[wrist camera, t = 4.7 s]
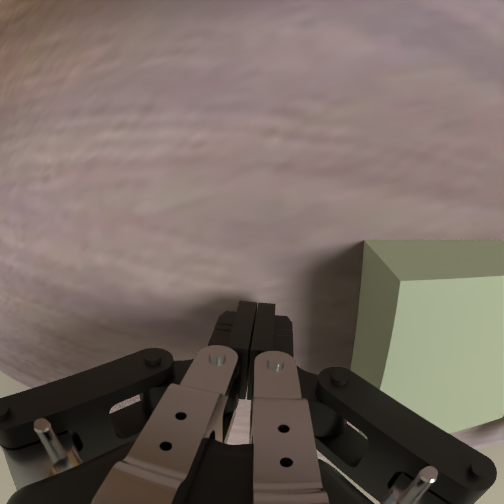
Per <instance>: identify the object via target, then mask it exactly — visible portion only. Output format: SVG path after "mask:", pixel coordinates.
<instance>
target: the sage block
mask: <svg viewBox="0 0 504 504" xmlns="http://www.w3.org/2000/svg"><path fill="white" fill-rule="evenodd" d="M350 370H351V371H352V372H354V373H356V374H357V375H359V376H360V377H361V378H363V379H364V380H366V381H367V382H369V383H370V384H372V385H373V386H375V387H376V388H378V389H380V390H381V391H383V392H384V393H386V394H387V395H389V396H390V397H392V398H393V399H395V400H396V401H398V402H399V403H401V404H402V405H404V406H406V407H407V408H409V409H410V410H412V411H413V412H415V413H416V414H418V415H420V416H421V417H423V418H424V419H426V420H428V421H429V422H431V423H432V424H434V425H436V426H437V427H439V428H440V429H442V430H444V431H445V432H447V433H448V434H449V433H453V432H457V431H460V430H464V429H468V428H471V427H474V426H478V425H481V424H484V423H487V422H491V421H494V420H497V419H499V418H502V417H503V415H504V242H503V241H501V240H364V248H363V264H362V277H361V288H360V298H359V308H358V317H357V325H356V333H355V341H354V348H353V355H352V362H351V368H350ZM359 433H360V434H361V435H362V436H364V437H365V438H366V439H367V437H366V436H365V434H364V433H362V432H361V431H360V430H359Z"/></svg>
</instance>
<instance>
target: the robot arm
mask: <svg viewBox="0 0 504 504" xmlns="http://www.w3.org/2000/svg"><path fill="white" fill-rule="evenodd" d="M247 385H248V392H247V400H251V411H250V433H249V444H242V445H229V444H226V443H227V440H228V437H229V434H230V431H231V427H232V424H233V421H234V418H235V414H236V408H237V405H238V401H239V399H245V397H246V391H247ZM138 394H139V395H140V400H141V401H139V402H136V403H134V404H132V405H129V406H127V407H125V408H122V409H120V410H118V411H115V412H113V413H110V414H109V411H110V409H111V408H112V406H114V405H115V404H117V403H119V402H122V401H124V400H127V399H129V398H131V397H134V396H136V395H138ZM347 421H348V422H349V423H351V424H352V425H353V426H355V427H356V428H357V429H359V430H360V431H361V432H362V433H364V434H365V436H366V437H367V439H366V438H365V437H364V436H362V435H361V434H360V433H359V432H357V431H356V430H355V429H353V428H352V427H351V426H350V425H348V424H347ZM0 447H1V449H2V450H3V452H4V454H5V457H6V461H7V464H8V467H9V470H10V472H11V475H12V478H13V481H14V484H15V486H16V489H17V491H16V492H15V493H14V494H13V495H12V496H11V498H10V499H9V500H8V502H7V504H374V503H373V502H372V501H371V500H369V499H368V498H367V497H366V496H365V495H364V494H363V493H361V492H360V491H359V490H358V489H357V488H356V487H355V486H353V485H352V484H351V483H350V482H349V481H348V480H347V479H346V478H345V477H344V476H343V475H341V474H340V473H339V472H338V471H337V470H336V469H335V468H333V467H332V466H331V465H329V464H328V463H326V462H324V461H322V460H320V459H318V457H317V451H316V449H317V450H318V451H319V452H320V453H321V454H323V455H324V456H325V457H326V458H327V459H328V460H329V461H330V462H332V463H333V464H334V465H335V466H336V467H337V468H339V469H340V470H341V471H342V472H343V473H344V474H346V475H347V476H348V477H349V478H350V479H352V480H353V481H354V482H355V483H356V484H358V485H359V486H360V487H361V488H363V489H364V490H365V491H366V492H367V493H369V494H370V495H371V496H373V497H374V498H375V499H376V500H378V501H379V502H380V504H474V503H475V502H476V501H477V500H478V499H479V498H480V497H481V496H482V495H483V494H484V493H485V492H486V491H487V490H488V489H489V488H490V487H491V486H492V485H493V483H494V482H495V480H496V476H497V471H496V467H495V465H494V463H493V462H492V460H491V459H489V458H488V457H487V456H485V455H483V454H482V453H480V452H478V451H477V450H475V449H473V448H472V447H470V446H468V445H467V444H465V443H463V442H462V441H460V440H458V439H457V438H455V437H453V436H452V435H450V434H448V433H447V432H445V431H444V430H442V429H440V428H439V427H437V426H436V425H434V424H432V423H431V422H429V421H428V420H426V419H424V418H423V417H421V416H420V415H418V414H416V413H415V412H413V411H412V410H410V409H409V408H407V407H406V406H404V405H402V404H401V403H399V402H398V401H396V400H395V399H393V398H392V397H390V396H389V395H387V394H386V393H384V392H383V391H381V390H380V389H378V388H376V387H375V386H373V385H372V384H370V383H369V382H367V381H366V380H364V379H363V378H361V377H360V376H359V375H357V374H356V373H354V372H352V371H351V370H348V369H346V368H342V367H330V368H327V369H324V370H323V371H321V372H320V374H319V375H316V374H312V373H309V372H306V371H304V370H302V369H300V368H299V367H298V366H297V365H296V361H295V359H294V358H293V331H292V322H291V321H290V319H289V318H288V317H287V316H277V315H275V304H270V303H258V308H257V302H247V301H240V302H239V306H238V309H237V312H233V311H226V312H224V313H223V314H222V315H220V316H219V318H218V321H217V324H216V326H215V329H214V331H213V334H212V336H211V339H210V342H209V344H208V346H207V347H204V348H202V349H201V350H200V351H199V352H198V353H197V355H196V357H195V358H194V359H192V360H185V361H173V356H172V355H171V354H170V353H169V352H168V351H166V350H163V349H159V348H148V349H144V350H141V351H139V352H136V353H133V354H131V355H128V356H125V357H122V358H120V359H117V360H114V361H112V362H109V363H106V364H103V365H100V366H98V367H95V368H92V369H89V370H86V371H83V372H81V373H78V374H75V375H72V376H69V377H66V378H63V379H60V380H57V381H54V382H51V383H48V384H45V385H42V386H39V387H35V388H32V389H29V390H26V391H23V392H20V393H16V394H13V395H10V396H6V397H3V398H0Z"/></svg>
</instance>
